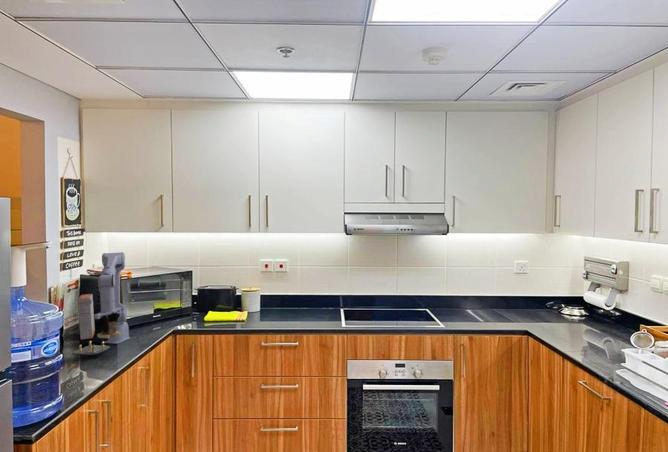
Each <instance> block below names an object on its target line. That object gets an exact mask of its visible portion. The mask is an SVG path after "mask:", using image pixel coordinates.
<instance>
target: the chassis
mask: <svg viewBox="0 0 668 452" xmlns="http://www.w3.org/2000/svg"><path fill="white" fill-rule="evenodd" d="M104 342H105V341H101V345H99V344H98V345H97V344H92V340H89V341H88V345H86V346H84V347H83V346H82V344H79V345H78V349H76V350H74V351H73V354H74V355H90V356H94V355H97V354H99V353H102V352H104V351H107V350H109V349H110V348H111V346H110V345H105V343H104Z"/></svg>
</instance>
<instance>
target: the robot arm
mask: <svg viewBox="0 0 668 452" xmlns="http://www.w3.org/2000/svg"><path fill="white" fill-rule="evenodd" d="M125 255H126V254H125V253H124V251H122V252H120V251H119V252H108V253H107V252H103V253H102V255H101V262H102V266H103V268H102V271H101V274H100V275H99V276H98V277H97V285H98V292H99V294H100V295H99V297H100V298H99V300H100V311H99V312H98V313H96V314H94V320H96V321H97V322H98V324H99V326H100V328H101V332H102V331H103V333H107V332H108V325H109V321H116V331H120V332H121V335H119V336H116V337H109V338H107V339H108V340H106V341H104V344H117V345H118V344H121V343H122V342H125V341H127V340H130V339H131V337H130V333H129V332H130V331H129V330H130V329H129V328H130V327H129V325H128V322H127V319H128V315H127V307H126V305H124V304H122V303H121V273H122V271H123V270H124V269H125V266H126V256H125Z"/></svg>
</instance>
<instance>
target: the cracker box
mask: <svg viewBox="0 0 668 452" xmlns="http://www.w3.org/2000/svg"><path fill="white" fill-rule="evenodd" d="M77 308H78V309H77V310H78V325H79V339H80V340H89V339H93V338H94V335H95V332H96V327H95V326H96V325H95V317H94V315H95V314H94V313H95V312H94V296H93V293H88V294H85V293H84V294H81V295H80V296H79V297H78V298H77Z"/></svg>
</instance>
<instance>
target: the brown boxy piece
mask: <svg viewBox="0 0 668 452" xmlns="http://www.w3.org/2000/svg"><path fill="white" fill-rule="evenodd" d="M119 335H121V332H120V331H116V321H109V325H108V332H107V333H103V331H102V330H101V332H100V333H97V335H96V336H97V338H98V339H99V338H100V339H108V338H109V337H116V336H119Z"/></svg>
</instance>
